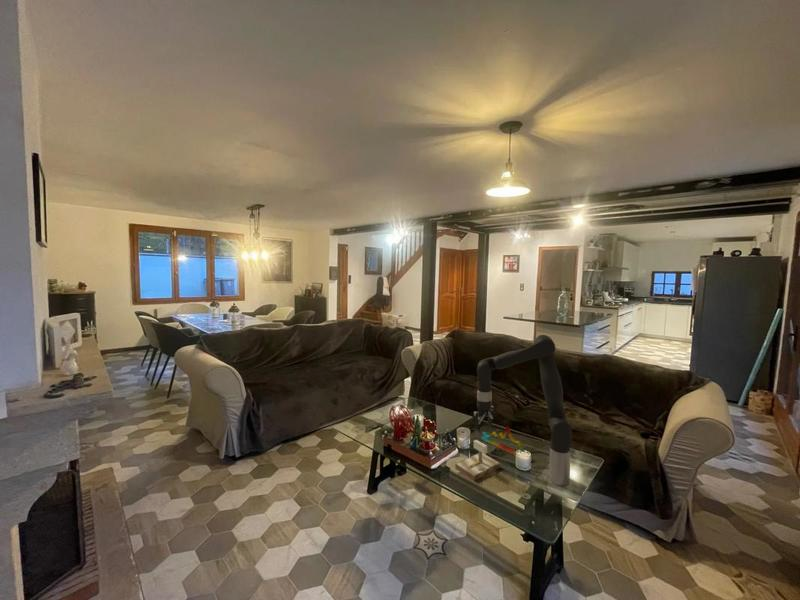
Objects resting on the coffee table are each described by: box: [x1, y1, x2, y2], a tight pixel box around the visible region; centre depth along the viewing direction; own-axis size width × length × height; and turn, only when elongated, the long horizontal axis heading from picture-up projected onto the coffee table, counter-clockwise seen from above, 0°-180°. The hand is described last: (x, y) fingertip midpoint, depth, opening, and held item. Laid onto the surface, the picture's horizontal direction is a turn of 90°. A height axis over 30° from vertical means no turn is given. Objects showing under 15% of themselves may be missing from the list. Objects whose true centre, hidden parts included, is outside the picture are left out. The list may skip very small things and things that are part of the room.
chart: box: [481, 425, 525, 457], centre depth 208 cm, size 30×3×15 cm, turn 38°
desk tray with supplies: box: [454, 452, 501, 482], centre depth 190 cm, size 20×14×3 cm
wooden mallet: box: [468, 439, 488, 467], centre depth 189 cm, size 10×8×10 cm
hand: (484, 427), depth 185 cm, fingers open, 8 cm apart
